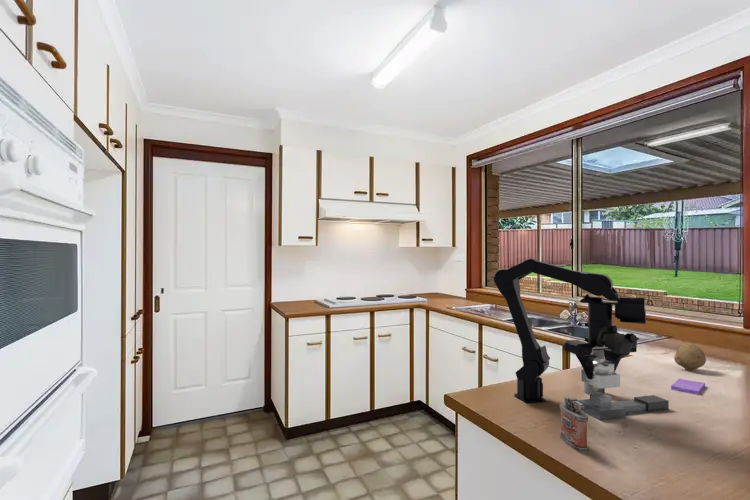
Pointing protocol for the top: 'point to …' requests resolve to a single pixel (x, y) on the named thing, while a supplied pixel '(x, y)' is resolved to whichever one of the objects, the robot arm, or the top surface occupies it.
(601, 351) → the lotion bottle
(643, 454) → the top surface
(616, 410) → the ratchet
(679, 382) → the sponges
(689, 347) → the potato
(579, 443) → the lighter
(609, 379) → the grey square-based fixture
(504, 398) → the top surface
